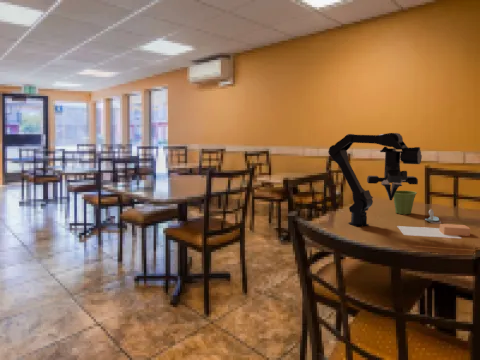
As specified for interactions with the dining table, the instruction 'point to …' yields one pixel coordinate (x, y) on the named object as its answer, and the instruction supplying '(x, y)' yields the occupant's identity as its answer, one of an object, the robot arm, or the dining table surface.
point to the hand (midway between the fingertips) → (390, 200)
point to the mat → (424, 232)
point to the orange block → (454, 229)
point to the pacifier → (433, 218)
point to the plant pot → (404, 201)
